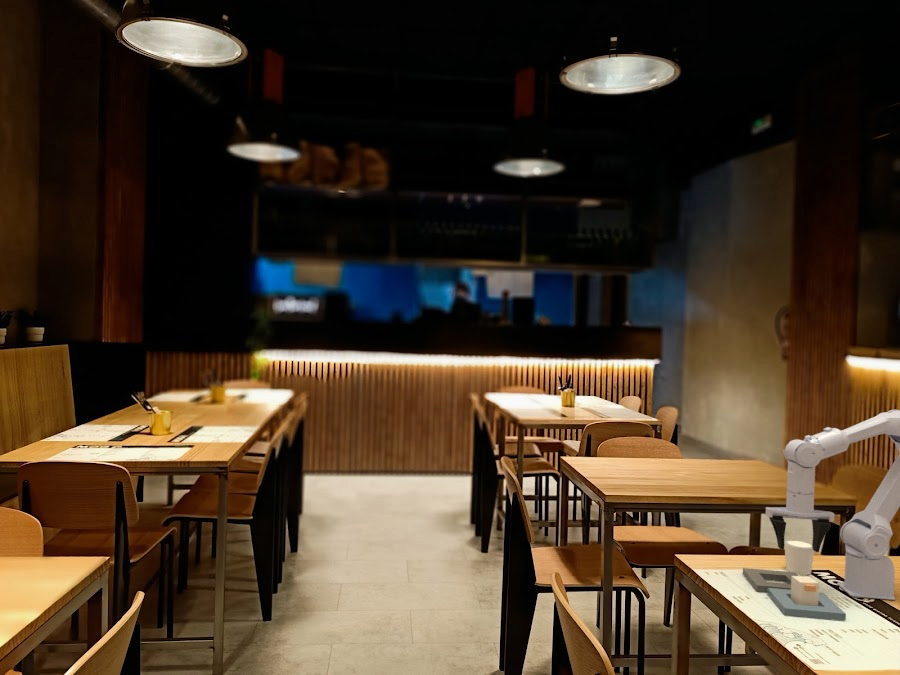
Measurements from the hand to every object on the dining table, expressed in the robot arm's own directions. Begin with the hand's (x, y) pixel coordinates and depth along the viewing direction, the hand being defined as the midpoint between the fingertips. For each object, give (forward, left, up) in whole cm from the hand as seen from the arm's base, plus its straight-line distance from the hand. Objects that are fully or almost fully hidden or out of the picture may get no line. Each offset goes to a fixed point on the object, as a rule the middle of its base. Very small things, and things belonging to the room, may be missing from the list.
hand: (798, 549), depth 159 cm
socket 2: (+2, +11, -9) cm, 15 cm away
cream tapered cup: (-5, -14, -10) cm, 18 cm away
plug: (+2, +11, -10) cm, 14 cm away
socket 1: (+4, -2, -9) cm, 10 cm away
